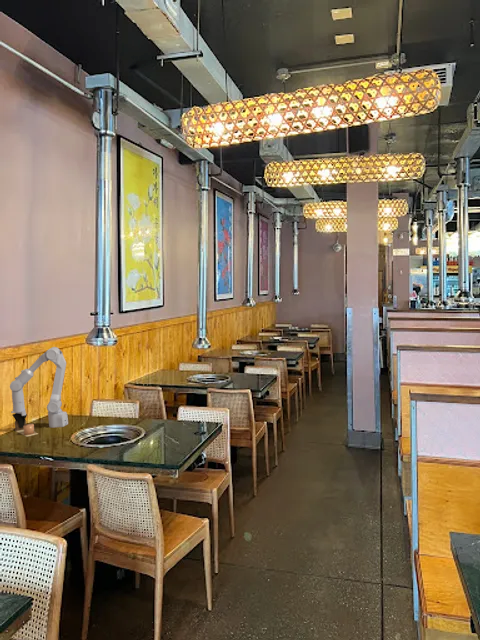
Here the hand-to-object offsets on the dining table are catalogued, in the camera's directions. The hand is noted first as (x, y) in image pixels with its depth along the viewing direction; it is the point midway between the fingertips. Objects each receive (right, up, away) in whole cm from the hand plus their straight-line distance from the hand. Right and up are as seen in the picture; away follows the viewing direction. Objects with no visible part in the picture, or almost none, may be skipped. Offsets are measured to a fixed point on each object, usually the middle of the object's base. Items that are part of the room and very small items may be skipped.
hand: (20, 426), depth 264 cm
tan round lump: (+8, -1, -9) cm, 13 cm away
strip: (+5, -3, -5) cm, 8 cm away
